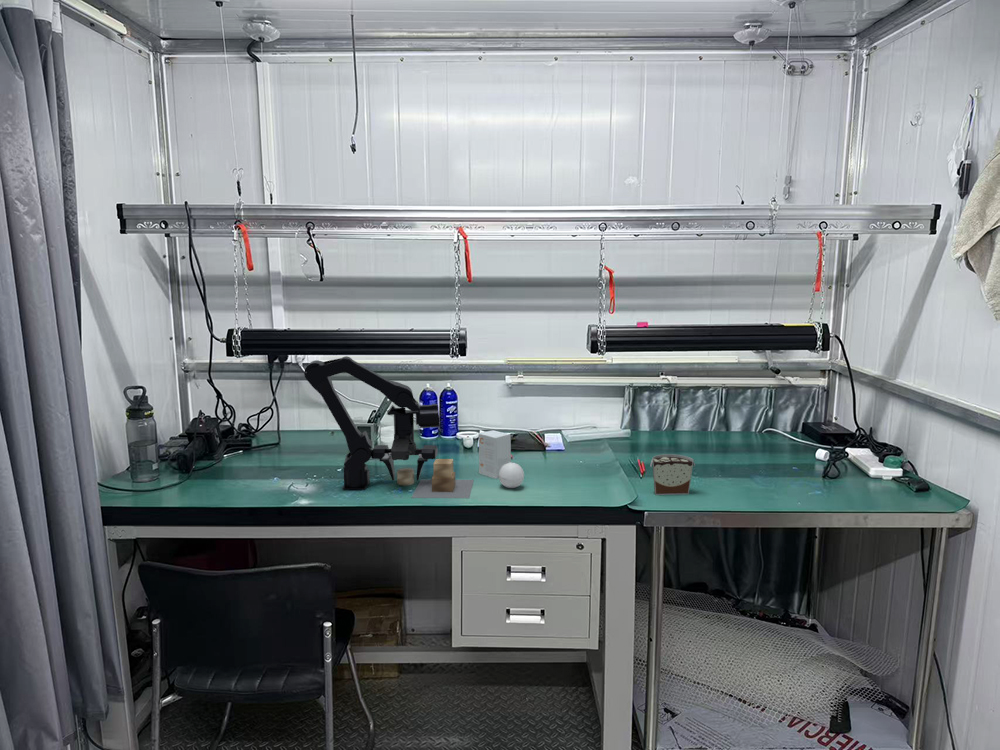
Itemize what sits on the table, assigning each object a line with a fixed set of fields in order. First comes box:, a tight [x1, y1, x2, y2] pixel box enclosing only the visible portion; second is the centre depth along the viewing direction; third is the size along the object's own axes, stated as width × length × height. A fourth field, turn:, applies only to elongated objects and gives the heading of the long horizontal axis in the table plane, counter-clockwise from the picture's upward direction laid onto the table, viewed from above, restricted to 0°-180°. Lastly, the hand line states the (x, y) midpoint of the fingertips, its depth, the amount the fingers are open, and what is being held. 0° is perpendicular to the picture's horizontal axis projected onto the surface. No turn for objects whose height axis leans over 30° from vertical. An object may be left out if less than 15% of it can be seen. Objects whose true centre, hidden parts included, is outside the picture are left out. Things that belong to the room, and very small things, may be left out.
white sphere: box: [493, 462, 525, 489], centre depth 182 cm, size 10×7×7 cm
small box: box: [478, 429, 512, 480], centre depth 194 cm, size 8×6×13 cm
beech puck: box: [396, 467, 415, 486], centre depth 187 cm, size 5×5×4 cm
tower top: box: [432, 458, 454, 478], centre depth 181 cm, size 5×5×4 cm
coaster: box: [411, 478, 475, 499], centre depth 182 cm, size 16×16×1 cm
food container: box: [649, 453, 696, 496], centre depth 178 cm, size 12×6×10 cm, turn 91°
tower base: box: [431, 471, 456, 492], centre depth 181 cm, size 6×6×4 cm
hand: (405, 480), depth 187 cm, fingers open, 7 cm apart
